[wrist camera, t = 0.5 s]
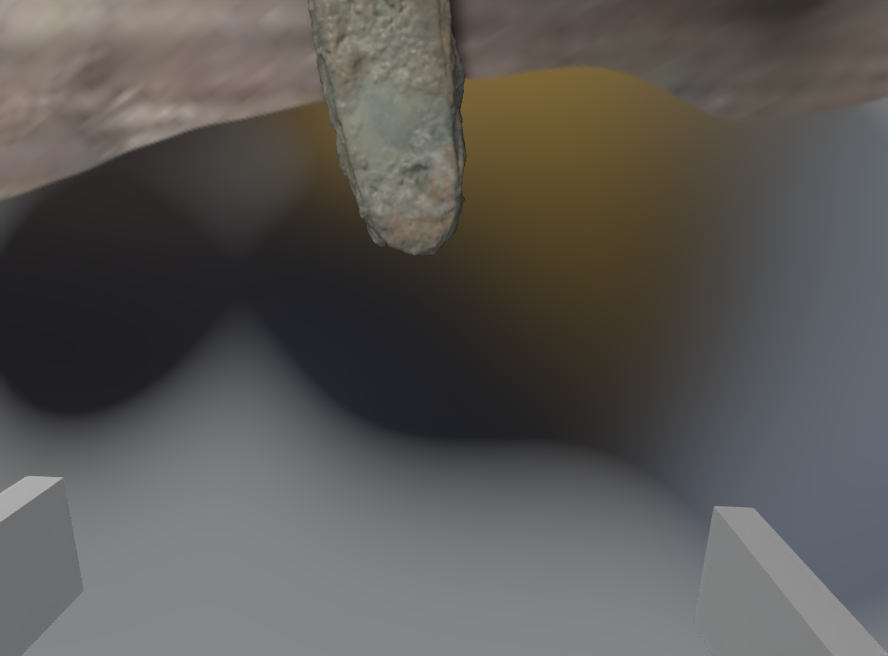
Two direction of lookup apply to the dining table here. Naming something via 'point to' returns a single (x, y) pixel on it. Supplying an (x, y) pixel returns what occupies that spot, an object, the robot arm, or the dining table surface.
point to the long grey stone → (395, 114)
